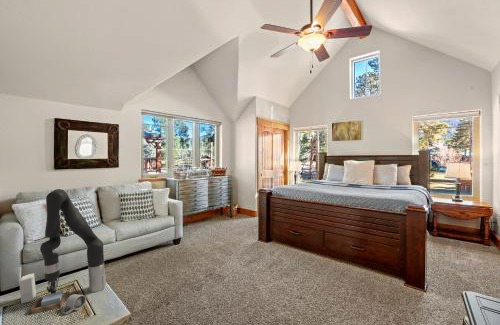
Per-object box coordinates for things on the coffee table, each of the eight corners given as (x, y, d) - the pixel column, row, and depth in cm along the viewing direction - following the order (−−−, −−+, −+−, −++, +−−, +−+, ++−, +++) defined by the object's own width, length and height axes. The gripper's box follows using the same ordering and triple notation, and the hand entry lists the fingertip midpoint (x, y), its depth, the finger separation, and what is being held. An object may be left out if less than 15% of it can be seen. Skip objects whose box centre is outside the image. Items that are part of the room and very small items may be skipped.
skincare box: (33, 300, 148) (31, 278, 147) (20, 304, 145) (18, 281, 144) (36, 294, 155) (34, 272, 154) (23, 297, 152) (22, 275, 151)
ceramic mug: (76, 302, 146) (76, 290, 145) (86, 304, 144) (85, 292, 143) (58, 314, 136) (57, 301, 135) (68, 316, 134) (67, 304, 133)
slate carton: (63, 298, 151) (63, 290, 150) (60, 305, 144) (60, 297, 143) (45, 302, 147) (45, 294, 146) (41, 310, 139) (41, 302, 139)
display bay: (67, 295, 153) (67, 291, 153) (60, 307, 141) (60, 303, 141) (39, 301, 147) (38, 297, 147) (29, 314, 135) (28, 310, 135)
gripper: (55, 273, 145) (57, 300, 146) (62, 264, 157) (64, 289, 158) (40, 276, 142) (41, 303, 143) (49, 266, 154) (50, 291, 155)
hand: (53, 296), depth 150 cm, fingers closed
